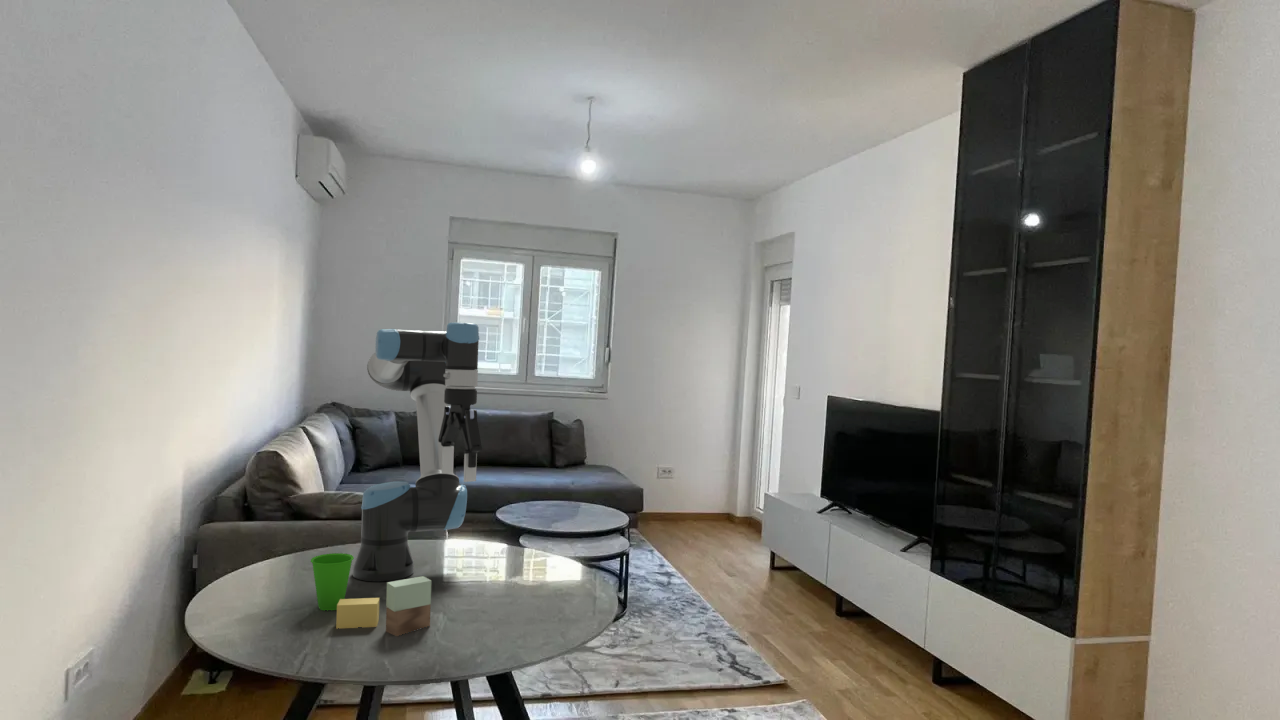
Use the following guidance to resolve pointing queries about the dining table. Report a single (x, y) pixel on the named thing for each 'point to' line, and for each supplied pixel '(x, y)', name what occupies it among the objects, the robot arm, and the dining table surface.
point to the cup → (331, 578)
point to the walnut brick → (407, 619)
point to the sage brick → (408, 593)
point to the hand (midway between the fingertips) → (458, 477)
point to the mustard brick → (357, 613)
